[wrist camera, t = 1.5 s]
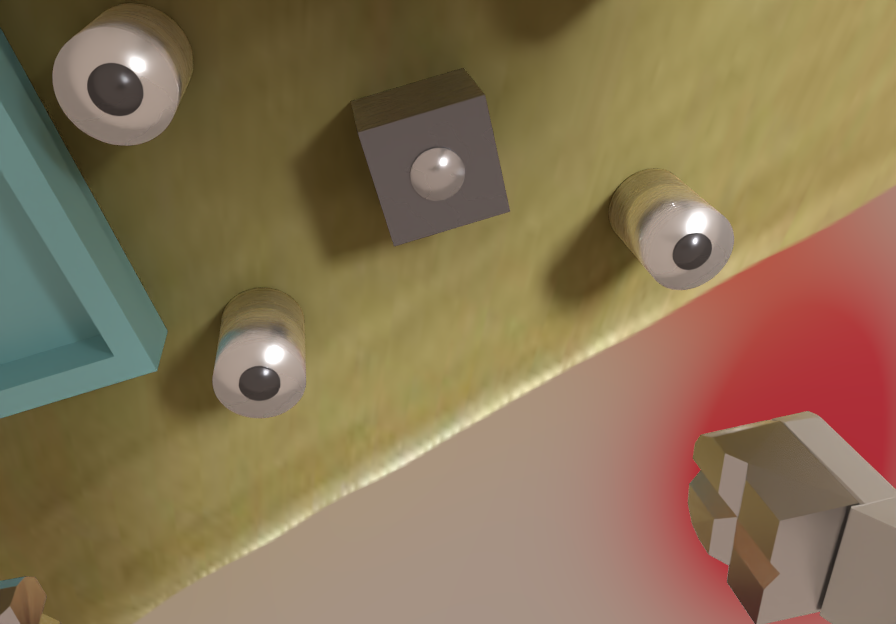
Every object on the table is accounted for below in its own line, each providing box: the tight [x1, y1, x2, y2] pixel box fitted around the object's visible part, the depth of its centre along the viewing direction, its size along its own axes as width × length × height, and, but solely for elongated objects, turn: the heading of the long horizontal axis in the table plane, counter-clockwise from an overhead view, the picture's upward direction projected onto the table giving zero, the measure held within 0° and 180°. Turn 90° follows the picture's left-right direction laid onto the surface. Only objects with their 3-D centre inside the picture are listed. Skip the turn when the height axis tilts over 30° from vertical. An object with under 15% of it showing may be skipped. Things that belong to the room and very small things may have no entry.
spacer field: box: [52, 3, 734, 418], centre depth 27 cm, size 22×20×5 cm
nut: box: [351, 68, 510, 246], centre depth 29 cm, size 5×5×4 cm
